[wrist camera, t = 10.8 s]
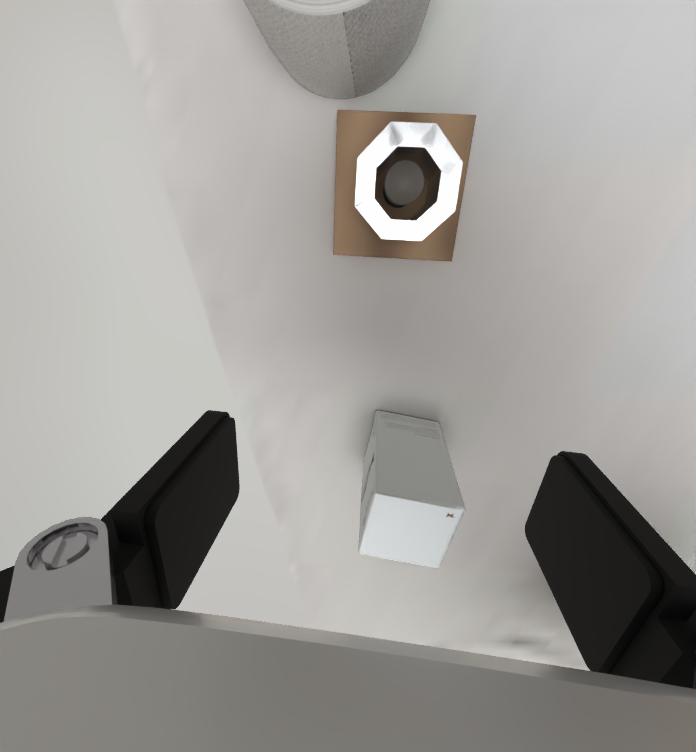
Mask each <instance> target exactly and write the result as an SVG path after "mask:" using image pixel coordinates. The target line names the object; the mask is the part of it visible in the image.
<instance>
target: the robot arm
mask: <svg viewBox="0 0 696 752" xmlns="http://www.w3.org/2000/svg"><path fill="white" fill-rule="evenodd" d="M238 494H239V473H238V458H237V443H236V428H235V420H234V418H230V416H229V414H228V413H227V412H220V411H211V410H210V411H209V410H208V411H207V412H205V413H204V415H202V416H201V418H200V419H199V420H198V421H197V422H196V423H195V424H194V425H193V426H192V427H191V428H190V429H189V430H188V431H187V432H186V433H185V434H184V435H183V436H182V437H181V438H180V439H179V440H178V441H177V442H176V443H175V444H174V445H173V446H172V447H171V448H170V449H169V450H168V451H167V452H166V453H165V454H164V455H163V456H162V457H161V459H159V460H158V462H156V463H155V465H154V466H153V467H152V468H151V469H150V470H149V471H148V472H147V473H146V474H145V475H144V476H143V477H142V478H141V479H140V480H139V481H138V482H137V483H136V484H135V485H134V486H133V487H132V488H131V489H130V490H129V491H128V492H127V493H126V494H125V495H124V496H123V497H122V498H121V499H120V500H119V501H118V502H117V503H116V504H115V505H114V507H113V508H112V509H111V510H110V511H109V512H108V513H107V514H106V515H105V516H104V517H103V518H102V519H101V520H99V519H96V518H92V517H82V518H81V517H80V518H75V519H70V520H66V521H64V522H61V523H59V524H56V525H54V526H52V527H50V528H48V529H47V530H45V531H43V532H41V533H39V534H38V535H37V536H36V537H34V538H33V539H32V540H31V541H29V542H28V543H27V544H26V546H25V547H24V548H23V549H22V550H21V552H20V553H19V556H18V558H17V560H16V563H15V566H12V567H10V568H7V569H5V570H2V571H0V752H696V575H695V574H694V573H693V571H692V570H691V569H690V568H689V567H688V566H687V565H686V564H685V563H684V562H683V560H682V559H681V558H680V557H679V556H678V555H677V554H676V553H675V552H674V551H673V549H672V548H671V547H670V546H669V545H668V544H667V543H666V542H665V541H664V540H663V539H662V537H661V536H660V535H659V534H658V533H657V532H656V531H655V530H654V529H653V528H652V526H651V525H650V524H649V523H648V522H647V521H646V520H645V519H644V518H643V517H642V515H641V514H640V513H639V512H638V511H637V510H636V509H635V508H634V507H633V506H632V504H631V503H630V502H629V501H628V500H627V499H626V498H625V497H624V496H623V495H622V493H621V492H620V491H619V490H618V489H617V488H616V487H615V486H614V485H613V484H612V482H611V481H610V480H609V479H608V478H607V477H606V476H605V475H604V474H603V473H602V472H601V470H600V469H599V468H598V467H597V466H596V465H595V464H594V463H593V462H592V461H591V459H590V458H589V457H588V456H587V455H585V454H582V453H574V452H565V451H562V452H560V453H558V455H557V456H556V455H555V456H553V457H552V458H551V460H550V462H549V465H548V467H547V470H546V473H545V475H544V478H543V480H542V483H541V485H540V488H539V491H538V493H537V496H536V498H535V501H534V504H533V506H532V509H531V511H530V514H529V516H528V519H527V522H526V525H525V534H526V537H527V540H528V542H529V544H530V546H531V548H532V551H533V553H534V555H535V557H536V559H537V561H538V563H539V565H540V568H541V570H542V572H543V574H544V576H545V578H546V580H547V582H548V585H549V587H550V589H551V591H552V593H553V595H554V597H555V600H556V602H557V604H558V606H559V608H560V610H561V612H562V614H563V617H564V619H565V621H566V623H567V625H568V627H569V629H570V631H571V634H572V636H573V638H574V640H575V642H576V644H577V646H578V649H579V651H580V653H581V655H582V657H583V659H584V661H585V663H586V665H587V667H588V668H589V669H590V670H591V671H586V670H579V669H573V668H567V667H560V666H554V665H547V664H541V663H535V662H528V661H522V660H515V659H509V658H503V657H496V656H490V655H483V654H477V653H470V652H464V651H457V650H450V649H444V648H437V647H431V646H424V645H417V644H411V643H404V642H397V641H391V640H384V639H377V638H371V637H364V636H357V635H351V634H344V633H337V632H330V631H323V630H316V629H310V628H303V627H295V626H289V625H282V624H275V623H268V622H261V621H254V620H247V619H240V618H233V617H227V616H219V615H210V614H203V613H195V612H187V611H179V610H171V609H176V608H177V607H178V606H179V605H180V603H181V601H182V599H183V597H184V596H185V594H186V592H187V590H188V588H189V586H190V585H191V583H192V581H193V579H194V577H195V576H196V574H197V572H198V570H199V568H200V566H201V565H202V563H203V561H204V559H205V557H206V555H207V553H208V551H209V550H210V548H211V546H212V544H213V542H214V541H215V539H216V537H217V535H218V533H219V531H220V529H221V528H222V526H223V524H224V522H225V520H226V518H227V517H228V515H229V513H230V511H231V509H232V507H233V506H234V504H235V502H236V500H237V498H238Z"/></svg>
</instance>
